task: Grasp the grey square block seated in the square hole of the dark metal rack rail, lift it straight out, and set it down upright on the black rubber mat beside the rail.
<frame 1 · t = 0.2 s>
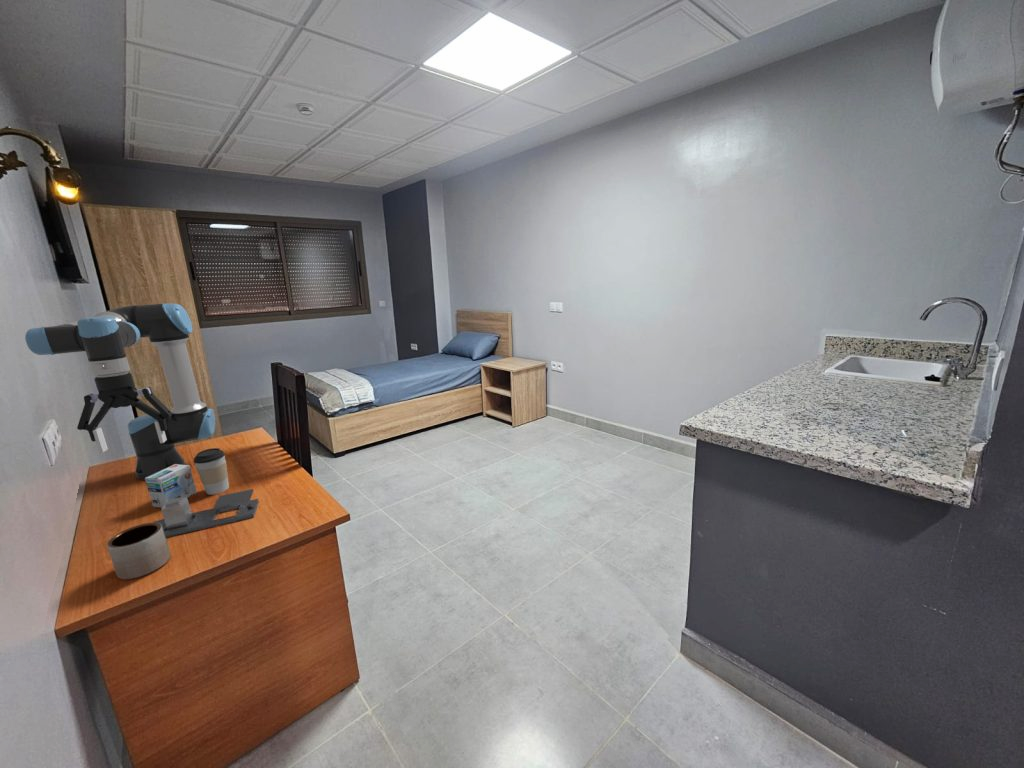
hand: (134, 446, 117), 27 cm above the table, fingers open, 13 cm apart
rack rail: (204, 520, 127), on the table
light bulb box: (176, 500, 141), on the table
grey square block: (181, 526, 125), resting in rack rail
planter: (145, 566, 108), on the table
coffee cup: (218, 490, 146), on the table
rubber mat: (233, 500, 138), on the table
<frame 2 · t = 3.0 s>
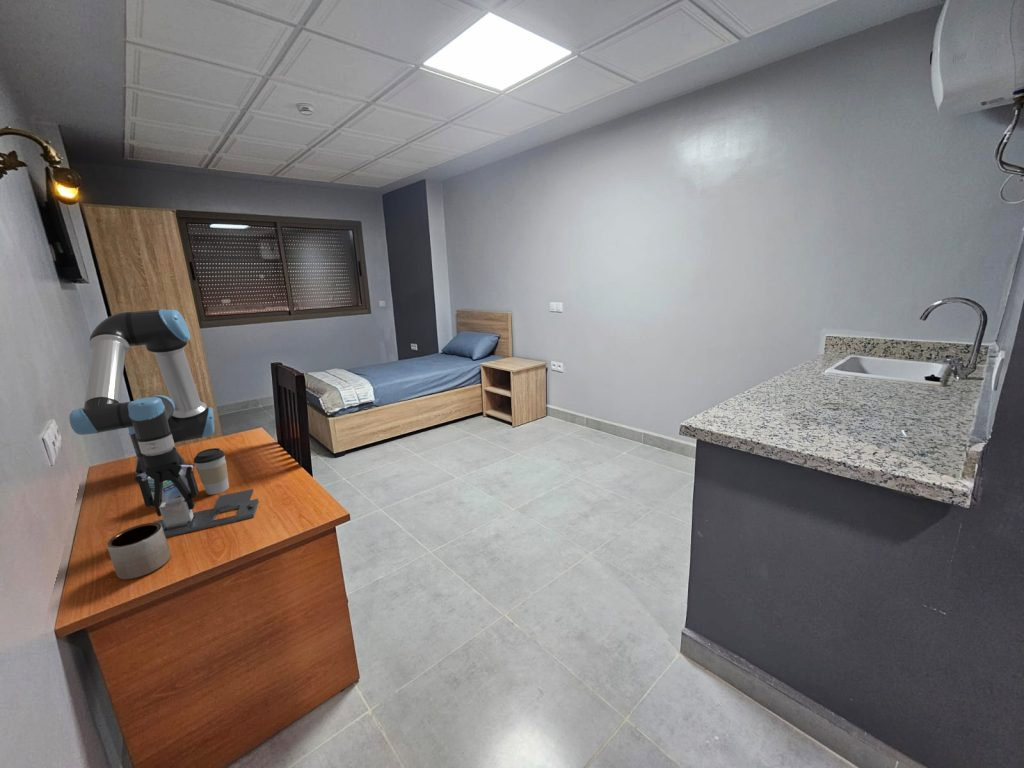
hand: (179, 521, 124), 2 cm above the table, fingers closed on grey square block, 5 cm apart
grey square block: (181, 526, 125), resting in rack rail, touching gripper
everything else where it was.
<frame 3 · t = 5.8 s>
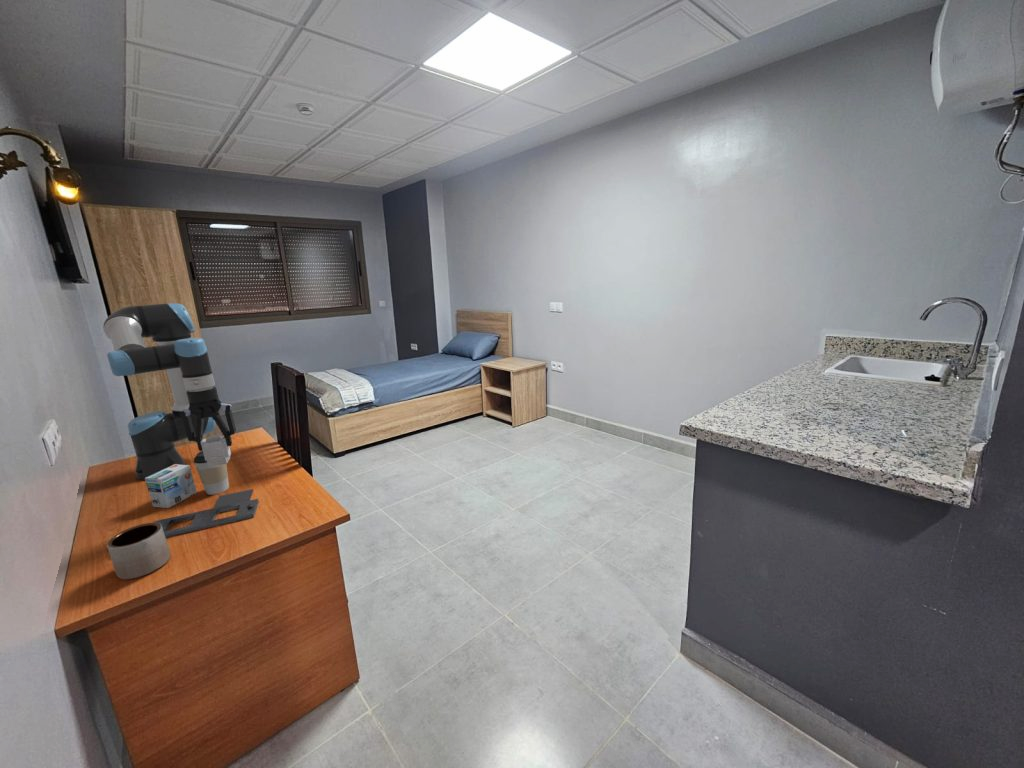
hand: (218, 457, 133), 17 cm above the table, fingers closed on grey square block, 5 cm apart
grey square block: (219, 462, 133), point 15 cm above the table, touching gripper
everything else where it was.
when the fingers open (4 cm above the table, at t = 8.7 s): grey square block drops 1 cm, resting on rubber mat.
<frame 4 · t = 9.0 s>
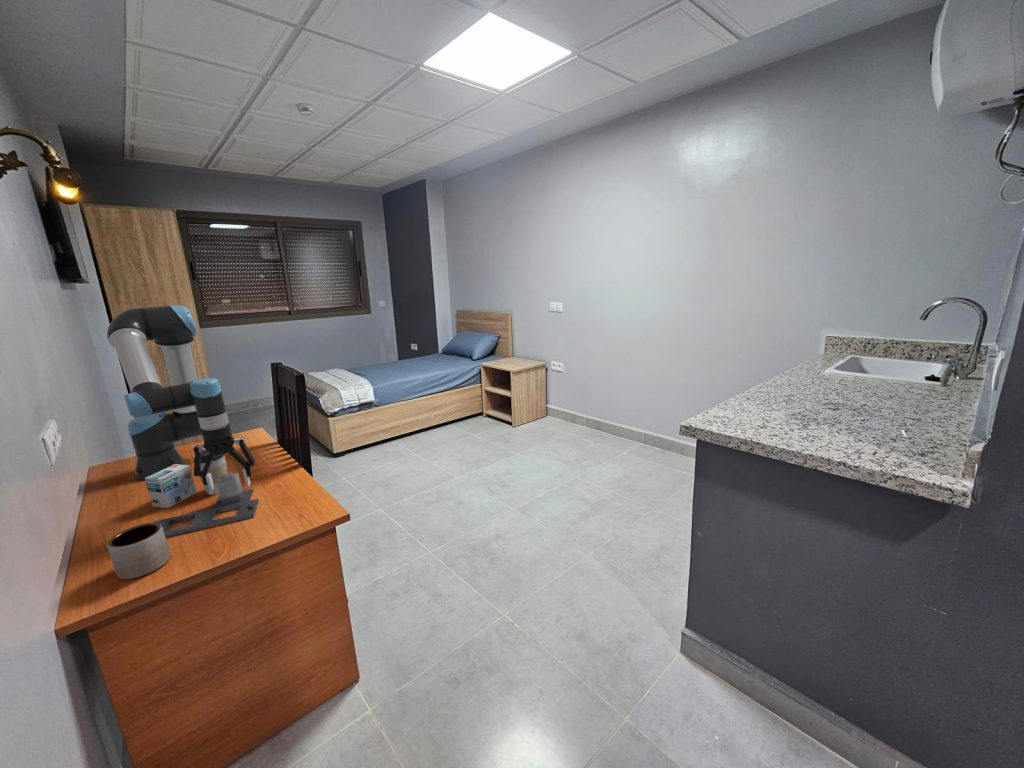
hand: (230, 489, 137), 4 cm above the table, fingers open, 9 cm apart
grey square block: (233, 499, 138), point 1 cm above the table, touching rubber mat
everything else where it was.
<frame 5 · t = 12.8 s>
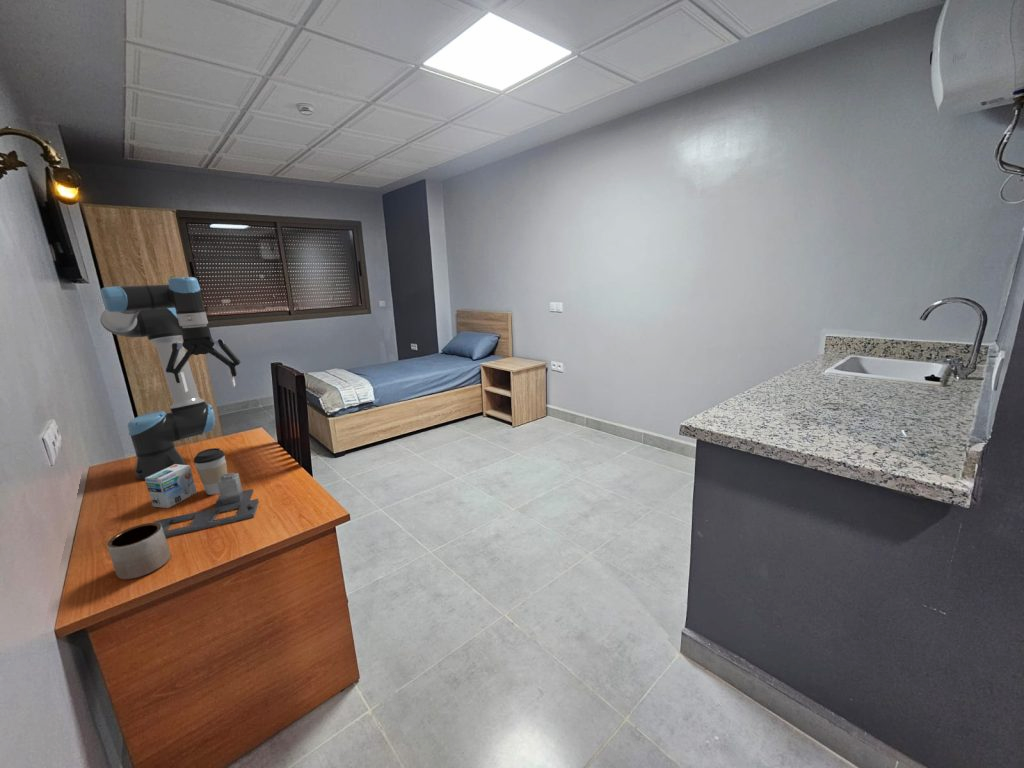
hand: (210, 389, 138), 37 cm above the table, fingers open, 13 cm apart
nothing on the table moved.
at the end: grey square block inside the target area (0.1 cm from its centre), point 0.6 cm above the table; grey square block tilted 0°; grey square block touching rubber mat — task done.
